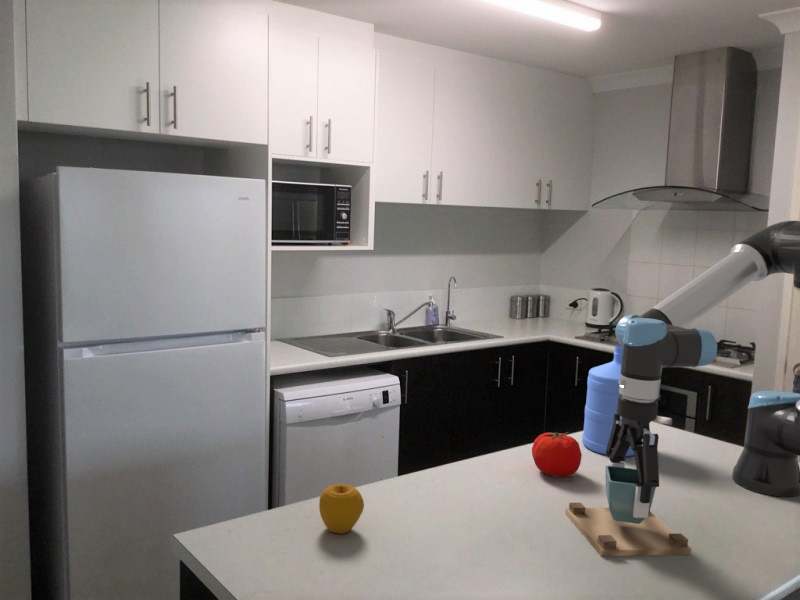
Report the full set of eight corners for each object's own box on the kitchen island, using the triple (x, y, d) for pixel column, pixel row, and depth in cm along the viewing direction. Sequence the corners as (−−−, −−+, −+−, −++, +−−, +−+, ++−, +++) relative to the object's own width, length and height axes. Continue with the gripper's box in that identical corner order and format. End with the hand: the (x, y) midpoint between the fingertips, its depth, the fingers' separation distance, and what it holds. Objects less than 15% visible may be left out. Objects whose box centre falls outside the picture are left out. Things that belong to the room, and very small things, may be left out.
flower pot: (651, 530, 135) (656, 486, 134) (604, 524, 137) (609, 480, 136) (645, 511, 144) (649, 470, 142) (601, 506, 145) (605, 464, 144)
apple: (368, 524, 139) (370, 482, 137) (351, 543, 131) (353, 498, 130) (329, 516, 141) (331, 474, 140) (310, 534, 133) (312, 490, 132)
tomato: (586, 472, 172) (589, 432, 171) (570, 487, 163) (574, 444, 161) (540, 461, 179) (543, 422, 177) (522, 474, 169) (526, 433, 168)
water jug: (632, 462, 181) (643, 356, 177) (573, 448, 189) (582, 347, 185) (647, 446, 194) (657, 347, 190) (592, 434, 202) (600, 339, 198)
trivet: (644, 512, 151) (645, 500, 150) (690, 554, 133) (692, 540, 133) (565, 513, 148) (566, 501, 148) (601, 556, 131) (602, 542, 130)
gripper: (595, 381, 147) (586, 481, 150) (649, 414, 125) (636, 531, 128) (629, 382, 149) (618, 481, 152) (687, 415, 126) (674, 530, 129)
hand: (627, 504), depth 140 cm, fingers closed on flower pot, 10 cm apart
